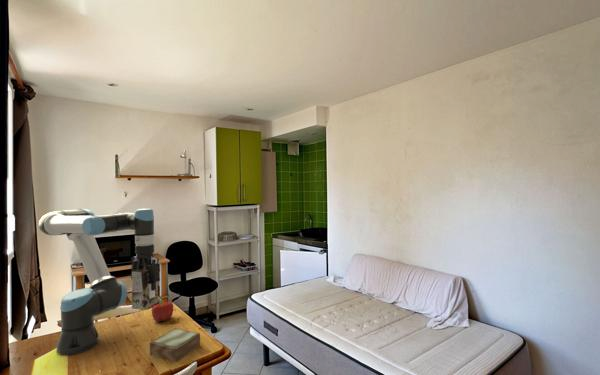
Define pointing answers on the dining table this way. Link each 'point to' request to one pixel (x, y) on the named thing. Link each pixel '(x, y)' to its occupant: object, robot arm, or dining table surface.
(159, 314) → the vegetable
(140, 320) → the dining table surface
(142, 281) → the coffee box
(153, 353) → the brown and green tray
